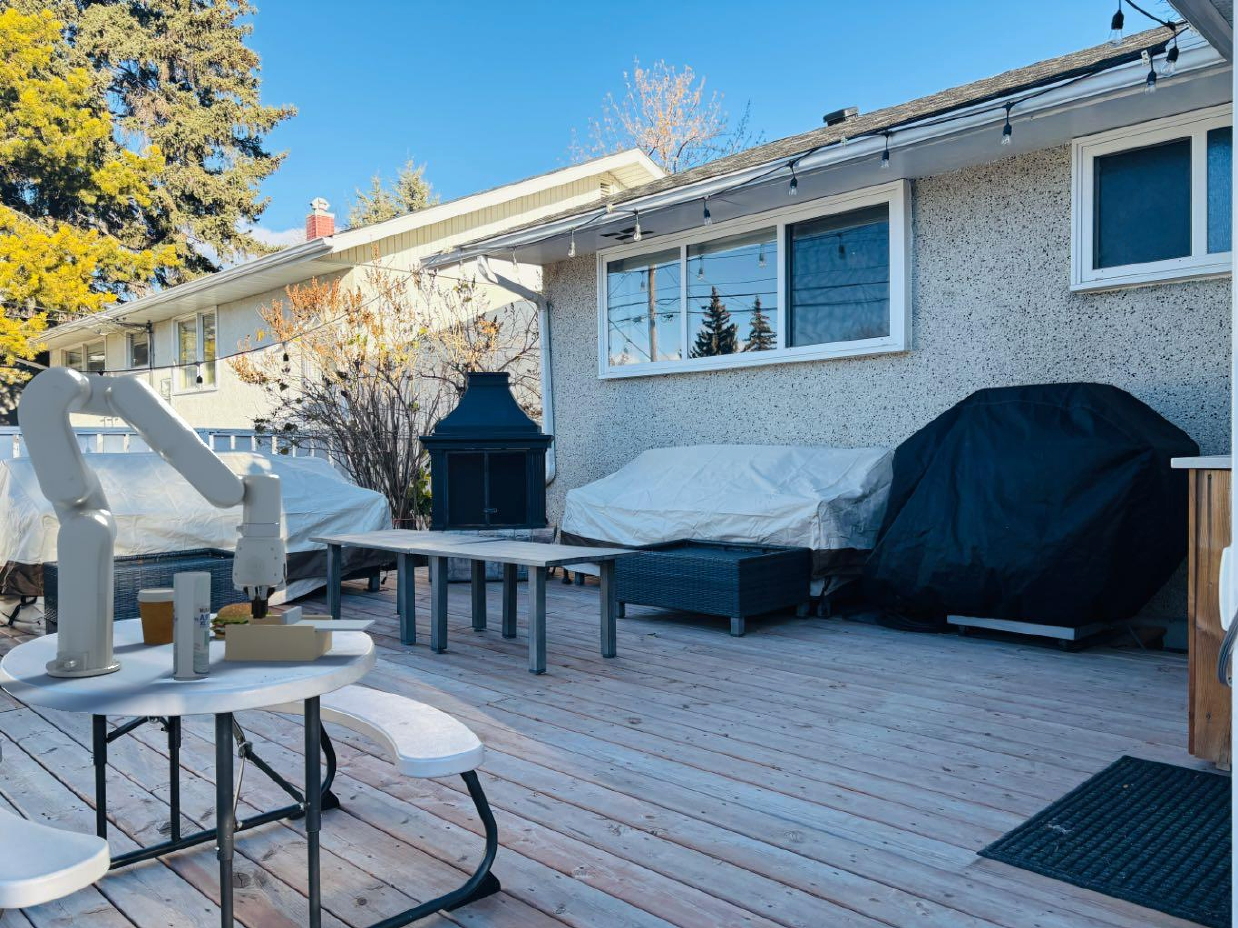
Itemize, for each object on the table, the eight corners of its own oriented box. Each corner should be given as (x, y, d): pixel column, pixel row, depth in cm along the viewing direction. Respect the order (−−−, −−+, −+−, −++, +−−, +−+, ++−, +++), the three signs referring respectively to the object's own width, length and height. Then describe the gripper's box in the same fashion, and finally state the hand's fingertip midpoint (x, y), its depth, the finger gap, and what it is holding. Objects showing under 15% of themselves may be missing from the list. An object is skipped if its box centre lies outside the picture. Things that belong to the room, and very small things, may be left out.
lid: (362, 631, 189) (362, 614, 189) (277, 630, 189) (277, 613, 189) (375, 622, 200) (375, 606, 200) (294, 622, 200) (294, 605, 200)
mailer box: (312, 664, 188) (313, 625, 188) (224, 664, 188) (225, 625, 188) (331, 652, 201) (332, 615, 201) (249, 651, 201) (249, 615, 201)
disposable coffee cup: (169, 646, 206) (169, 593, 206) (127, 646, 206) (128, 592, 206) (190, 638, 215) (190, 587, 215) (150, 638, 215) (150, 587, 215)
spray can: (180, 673, 179) (181, 571, 179) (214, 673, 179) (216, 571, 179) (166, 681, 172) (167, 575, 172) (201, 681, 173) (203, 575, 173)
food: (235, 644, 209) (236, 609, 209) (198, 638, 217) (199, 604, 217) (286, 635, 221) (286, 602, 221) (249, 629, 228) (250, 597, 228)
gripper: (218, 532, 191) (216, 620, 190) (290, 533, 191) (288, 621, 191) (233, 530, 198) (231, 614, 198) (302, 531, 198) (300, 616, 198)
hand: (259, 617), depth 194 cm, fingers closed
